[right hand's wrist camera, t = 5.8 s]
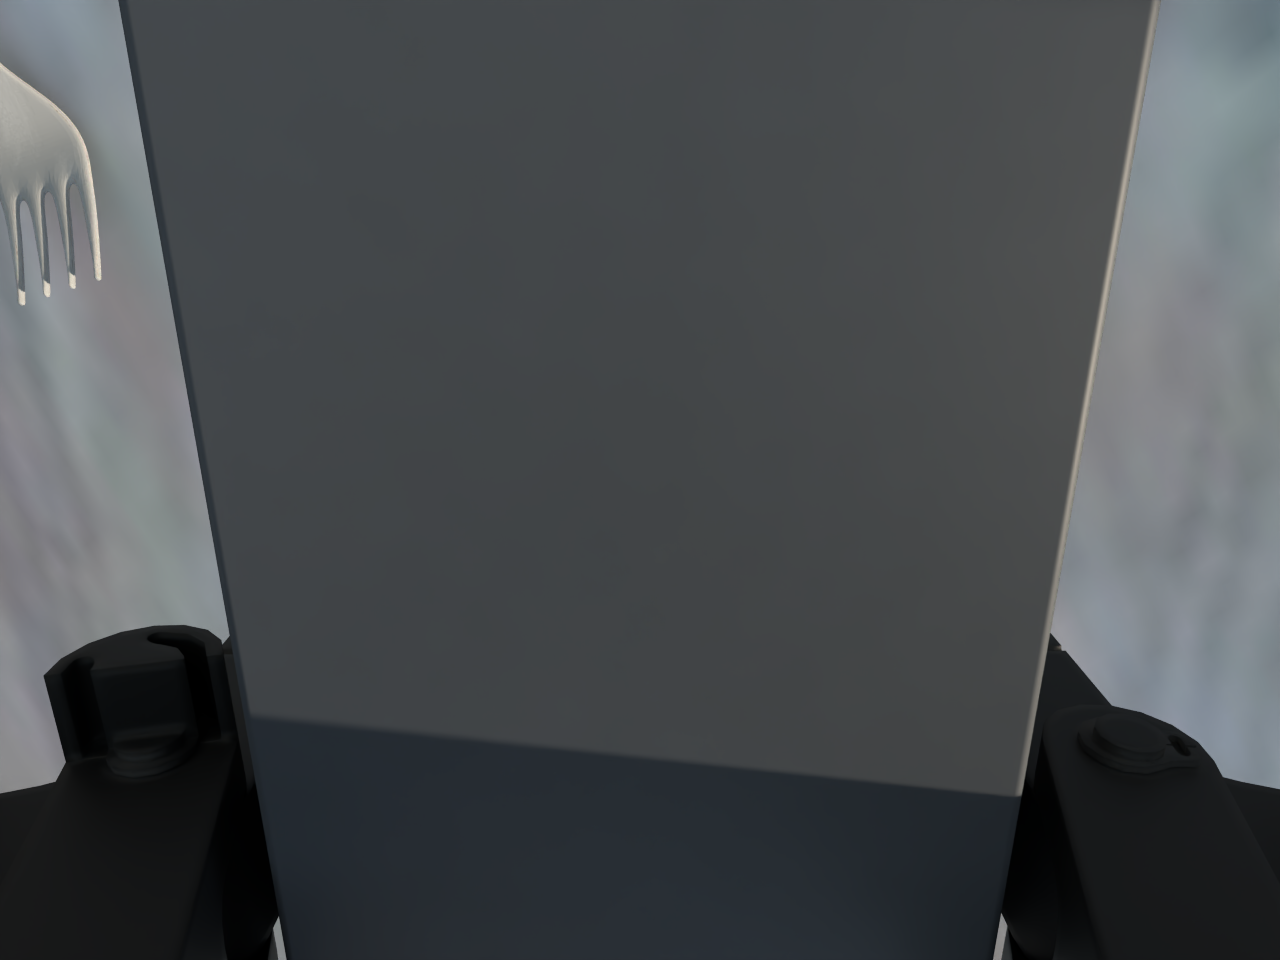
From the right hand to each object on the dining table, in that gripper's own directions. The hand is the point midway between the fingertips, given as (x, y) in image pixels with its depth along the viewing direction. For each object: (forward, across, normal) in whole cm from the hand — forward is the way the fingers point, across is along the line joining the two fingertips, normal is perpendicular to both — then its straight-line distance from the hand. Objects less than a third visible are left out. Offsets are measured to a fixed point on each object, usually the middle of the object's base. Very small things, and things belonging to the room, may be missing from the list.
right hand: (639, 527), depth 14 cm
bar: (+1, 0, -9) cm, 9 cm away
